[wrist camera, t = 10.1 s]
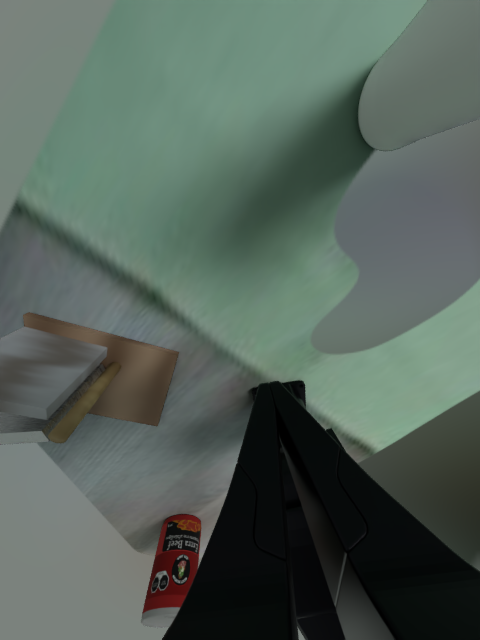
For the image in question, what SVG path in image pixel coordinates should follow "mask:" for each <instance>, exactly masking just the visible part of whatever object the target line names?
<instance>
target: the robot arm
mask: <svg viewBox="0 0 480 640" xmlns="http://www.w3.org/2000/svg"><path fill="white" fill-rule="evenodd" d="M252 394H253V400H254V404H253V408H252V411H251V415H250V418H249V422H248V425H247V429H246V432H245V436H244V439H243V443H242V446H241V450H240V454H239V457H238V461H237V462H238V463H237V464H236V467H235V471H234V474H233V478H232V481H231V484H230V487H229V490H228V493H227V496H226V499H225V502H224V504H223V507H222V510H221V512H220V515H219V518H218V520H217V523H216V525H215V528H214V530H213V533H212V535H211V538H210V540H209V543H208V545H207V548H206V550H205V553H204V555H203V558H202V560H201V562H200V565H199V568H198V570H197V572H196V575H195V577H194V580H193V582H192V584H191V586H190V589H189V591H188V593H187V595H186V597H185V599H184V601H183V603H182V605H181V607H180V609H179V611H178V613H177V615H176V617H175V618H174V620H173V622H172V624H171V625H170V627H169V628H168V630H167V632H166V633H165V635H164V637H163V638H162V640H299V639H298V629H297V626H298V628H299V630H300V631H301V633H302V635H303V636H304V638H305V640H480V571H479V570H477V569H476V568H475V567H473V566H472V565H470V564H469V563H468V562H466V561H465V560H464V559H463V558H461V557H460V556H459V555H458V554H456V553H455V552H454V551H453V550H452V549H450V548H449V547H448V546H447V545H446V544H445V543H444V542H442V541H441V540H440V539H439V538H438V537H437V536H436V535H434V534H433V533H432V532H431V531H430V530H429V529H428V528H427V527H426V526H424V525H423V524H422V523H421V522H420V521H419V520H418V519H417V518H416V517H414V516H413V515H412V514H411V513H410V512H409V511H408V510H407V509H405V508H404V507H403V506H402V505H401V504H400V503H399V502H398V501H396V500H395V499H394V498H393V497H392V496H391V495H390V494H389V493H388V492H386V491H385V490H384V489H383V488H382V487H381V486H380V485H379V484H378V483H377V482H376V481H375V480H373V479H372V478H371V477H370V476H369V475H368V474H367V473H366V472H365V471H364V470H363V469H362V468H361V467H360V466H359V465H358V464H357V463H356V462H355V461H354V460H353V459H352V458H351V457H350V456H349V455H348V454H347V452H346V451H345V449H344V448H343V446H342V445H341V443H340V441H339V440H338V438H337V436H336V435H335V433H334V431H333V430H332V428H330V429H326V430H325V429H324V428H323V427H322V426H321V425H320V424H319V423H318V422H317V421H316V420H315V419H314V418H313V417H312V416H311V415H310V413H309V412H308V411H307V410H306V400H305V384H304V382H303V381H295V382H289V383H282V384H281V383H280V382H279V381H274V382H270V383H261V384H259V387H257V388H254V389H253V390H252Z"/></svg>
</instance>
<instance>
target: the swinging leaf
mask: <svg viewBox="0 0 480 640" xmlns="http://www.w3.org/2000/svg"><path fill="white" fill-rule="evenodd" d="M104 370H105V368H104V366H103V364H99V365H98V366H97V367H96V368H95V369H94V370H93V372H92V373H91V374H90V375H89V376H88V377H87V378H86V379H85V380H84V381H83V382H82V383H81V384H80V385H79V386H78V388H77V389H76V390H75V391H74V392H73V393H72V394H71V395H70V396H69V397H68V398H67V399H66V400H65V401H64V402H63V404H62V405H61V406H60V407H59V408H58V409H57V410H56V411H55V412H54V413H53V414H52V415H51V416H50V417H49V418H48V419H47V420H44V419H38V418H32V417H27V416H21V415H15V414H10V413H4V412H0V445H3V444H18V443H33V442H48V441H50V439H49V438H48V435H49V434H50V432H51V431H52V430H53V429H54V428H55V427H56V425H57V424H58V423H59V422H60V421H61V420H62V418H63V417H64V416H65V415H66V414H67V413H68V412H69V410H70V409H71V408H72V407H73V406H74V405H75V403H76V402H77V401H78V400H79V399H80V398H81V397H82V395H83V394H84V393H85V392H86V391H87V390H88V388H89V387H90V386H91V385H92V384H93V383H94V382H95V380H96V379H97V378H98V377H99V376H100V375H101V373H102V372H103V371H104Z"/></svg>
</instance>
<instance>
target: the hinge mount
mask: <svg viewBox="0 0 480 640" xmlns="http://www.w3.org/2000/svg"><path fill="white" fill-rule="evenodd" d="M23 319H24V327H22V328H20V329H18V330H16V331H14V332H12V333H10V334H8V335H6V336H4V337H2V338H0V412H4V413H10V414H15V415H21V416H27V417H32V418H38V419H44V420H47V419H48V418H49V417H50V416H51V415H52V414H53V413H54V412H55V411H56V410H57V409H58V408H59V407H60V406H61V405H62V404H63V402H64V401H65V400H66V399H67V398H68V397H69V396H70V395H71V394H72V393H73V392H74V391H75V390H76V389H77V388H78V386H79V385H80V384H81V383H82V382H83V381H84V380H85V379H86V378H87V377H88V376H89V375H90V374H91V373H92V372H93V370H94V369H95V368H96V367H97V366H98V365H99V364H103V366H104V368H105V370H104V371H103V372H102V373H101V375H100V376H99V377H98V378H97V379H96V380H95V382H94V383H93V384H92V385H91V386H90V387H89V388H88V390H87V391H86V392H85V393H84V394H83V395H82V397H81V398H80V399H79V400H78V401H77V402H76V403H75V405H74V406H73V407H72V408H71V409H70V410H69V412H68V413H67V414H66V415H65V416H64V417H63V418H62V420H61V421H60V422H59V423H58V424H57V425H56V427H55V428H54V429H53V430H52V431H51V432H50V434H49V435H48V438H49V439H50V440H51V441H52V442H55V443H64V442H66V440H67V439H68V438H69V436H70V435H71V434H72V432H73V431H74V430H75V429H76V427H77V426H78V425H79V423H80V422H81V421H82V419H83V418H84V417H85V415H86V414H87V413H89V414H95V415H100V416H105V417H111V418H116V419H121V420H126V421H132V422H137V423H142V424H148V425H153V426H158V423H159V420H160V416H161V413H162V410H163V406H164V403H165V399H166V396H167V392H168V389H169V385H170V382H171V378H172V375H173V372H174V368H175V365H176V361H177V358H178V354H179V352H176V351H173V350H169V349H165V348H161V347H157V346H154V345H150V344H146V343H142V342H139V341H135V340H131V339H127V338H124V337H120V336H116V335H112V334H109V333H105V332H101V331H97V330H94V329H90V328H86V327H82V326H79V325H75V324H71V323H67V322H64V321H60V320H56V319H52V318H49V317H45V316H41V315H37V314H33V313H30V312H29V313H26V314H24V315H23Z"/></svg>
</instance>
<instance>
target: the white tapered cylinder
mask: <svg viewBox="0 0 480 640" xmlns="http://www.w3.org/2000/svg"><path fill="white" fill-rule="evenodd" d="M479 119H480V0H427V1H426V3H425V4H424V5H423V7H422V8H421V9H420V10H419V12H418V13H417V14H416V16H415V17H414V18H413V19H412V21H411V22H410V23H409V24H408V26H407V27H406V28H405V30H404V31H403V32H402V33H401V35H400V36H399V37H398V38H397V39H396V40H395V41H394V42H393V44H392V45H391V46H390V47H389V48H388V49H387V50H386V51H385V53H384V54H383V55H382V56H381V57H380V59H379V60H378V61H377V63H376V64H375V65H374V67H373V69H372V70H371V72H370V74H369V76H368V78H367V80H366V82H365V84H364V87H363V90H362V93H361V96H360V101H359V107H358V122H359V128H360V131H361V134H362V136H363V138H364V140H365V141H366V142H367V143H368V144H369V145H370V146H371V147H372V148H374V149H377V150H380V151H392V150H396V149H400V148H402V147H404V146H407V145H409V144H411V143H413V142H416V141H418V140H420V139H423V138H426V137H429V136H432V135H435V134H437V133H441V132H444V131H446V130H449V129H452V128H455V127H458V126H461V125H464V124H467V123H470V122H473V121H476V120H479Z"/></svg>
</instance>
